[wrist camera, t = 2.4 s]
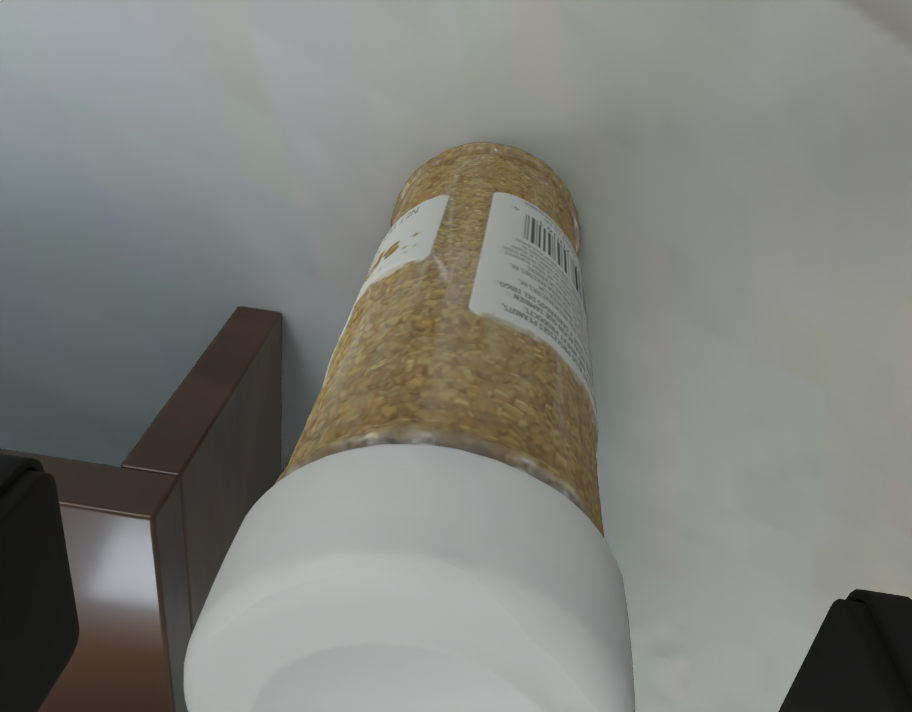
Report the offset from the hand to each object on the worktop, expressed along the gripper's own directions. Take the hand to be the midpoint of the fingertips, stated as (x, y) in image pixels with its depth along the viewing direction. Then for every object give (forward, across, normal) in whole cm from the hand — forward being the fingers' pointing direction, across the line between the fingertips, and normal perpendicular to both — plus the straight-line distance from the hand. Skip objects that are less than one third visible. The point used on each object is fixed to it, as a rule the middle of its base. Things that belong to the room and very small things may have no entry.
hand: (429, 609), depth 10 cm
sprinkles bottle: (+12, 0, -1) cm, 12 cm away
